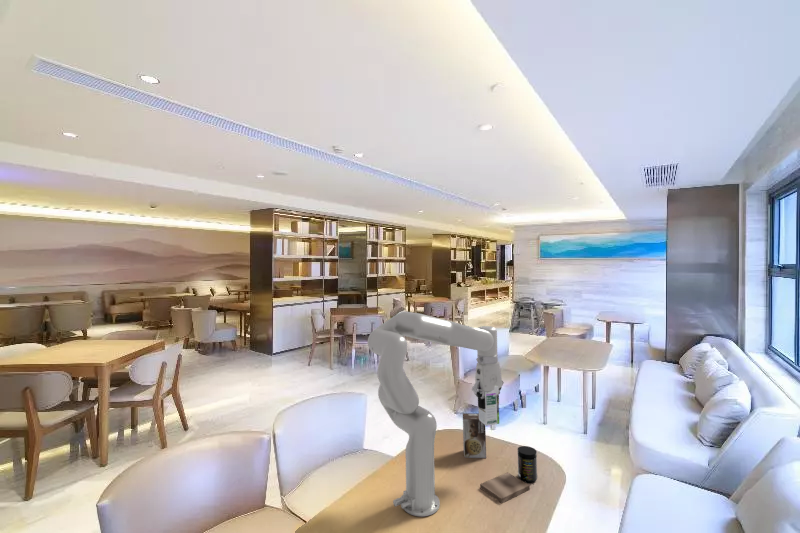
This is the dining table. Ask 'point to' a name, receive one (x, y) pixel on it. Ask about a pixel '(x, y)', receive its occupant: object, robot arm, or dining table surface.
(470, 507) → the dining table surface
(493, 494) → the walnut serving board
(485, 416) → the syrup box
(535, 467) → the supplement container
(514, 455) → the dining table surface
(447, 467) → the dining table surface
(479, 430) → the coffee box
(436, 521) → the dining table surface
